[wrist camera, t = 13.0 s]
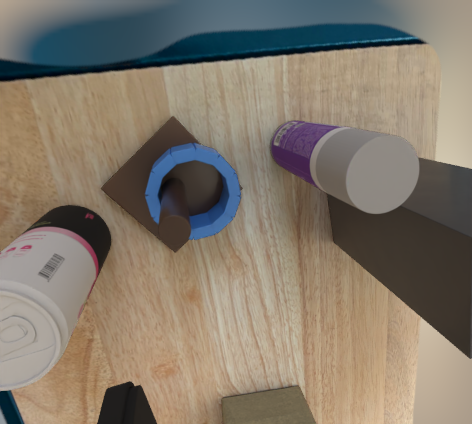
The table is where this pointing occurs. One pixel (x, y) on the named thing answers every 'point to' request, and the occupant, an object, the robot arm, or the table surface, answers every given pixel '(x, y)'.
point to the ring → (218, 213)
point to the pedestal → (420, 247)
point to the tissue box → (268, 408)
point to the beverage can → (47, 290)
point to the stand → (167, 186)
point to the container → (349, 163)
